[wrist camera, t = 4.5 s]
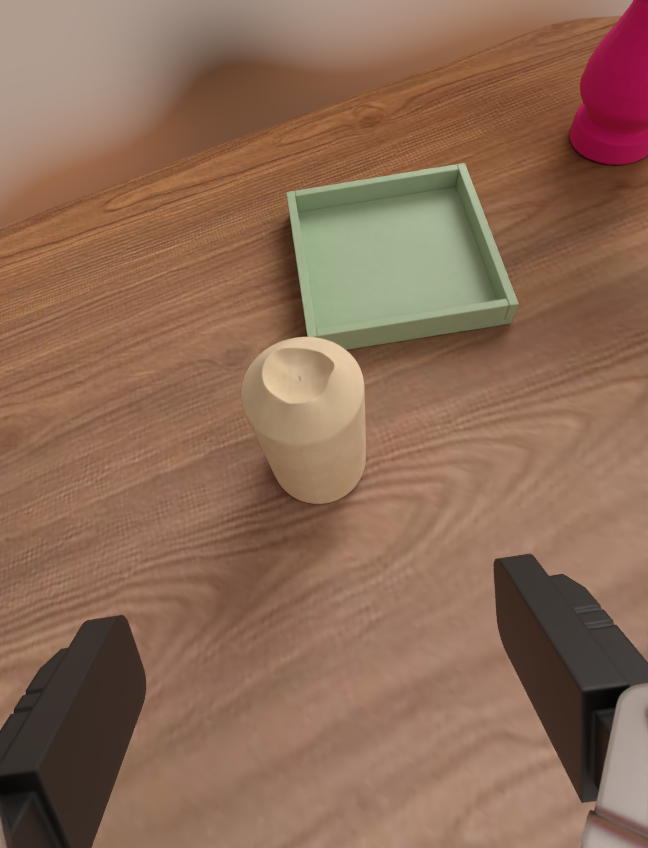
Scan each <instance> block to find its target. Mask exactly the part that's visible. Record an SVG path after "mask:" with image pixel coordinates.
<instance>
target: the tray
mask: <svg viewBox="0 0 648 848" xmlns="http://www.w3.org/2000/svg"><path fill="white" fill-rule="evenodd" d="M286 194H287V200H288V207H289V214H290V221H291V228H292V235H293V242H294V248H295V255H296V262H297V269H298V276H299V283H300V290H301V296H302V303H303V310H304V317H305V324H306V331H307V337H316V338H321V339H326V340H328V341H331V342H334V343H336V344H338V345H339V346H341V347H342V348H344V349H345V350H348V349H355V348H361V347H367V346H374V345H380V344H386V343H392V342H399V341H405V340H411V339H417V338H424V337H430V336H436V335H442V334H449V333H455V332H461V331H468V330H474V329H480V328H486V327H493V326H499V325H505V324H511V323H512V320H513V318H514V315H515V312H516V310H517V307H518V305H519V303H518V301H517V298H516V295H515V293H514V290H513V288H512V285H511V282H510V280H509V277H508V275H507V272H506V269H505V267H504V264H503V262H502V259H501V256H500V254H499V251H498V249H497V246H496V243H495V241H494V238H493V235H492V233H491V230H490V228H489V225H488V222H487V220H486V217H485V215H484V212H483V209H482V207H481V204H480V202H479V199H478V196H477V194H476V191H475V189H474V186H473V183H472V181H471V178H470V176H469V173H468V170H467V168H466V165H465V163H462V164H457V165H456V164H455V165H449V166H443V167H437V168H431V169H425V170H419V171H413V172H407V173H401V174H395V175H389V176H383V177H376V178H370V179H364V180H358V181H352V182H346V183H340V184H334V185H328V186H322V187H316V188H310V189H304V190H297V191H295V192H294V191H291V192H287V193H286Z"/></svg>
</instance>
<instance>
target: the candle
mask: <svg viewBox="0 0 648 848" xmlns="http://www.w3.org/2000/svg"><path fill="white" fill-rule="evenodd" d="M241 401H242V406H243V409H244V412H245V414H246V416H247V418H248V421H249V423H250V425H251V427H252V429H253V431H254V433H255V435H256V437H257V440H258V442H259V444H260V446H261V448H262V450H263V452H264V454H265V456H266V459H267V461H268V463H269V465H270V467H271V469H272V471H273V473H274V475H275V477H276V479H277V481H278V483H279V484H280V486H281V487H282V488H283V489H284V490H285V491H286V492H287V493H288V494H290V495H291V496H293V497H294V498H296V499H298V500H300V501H303V502H306V503H311V504H324V503H330V502H333V501H336V500H338V499H340V498H342V497H344V496H345V495H347V494H348V493H349V492H350V491H352V490H353V488H354V487H355V486H356V485H357V483H358V482H359V480H360V478H361V476H362V474H363V471H364V468H365V463H366V433H365V397H364V380H363V375H362V372H361V369H360V367H359V365H358V363H357V362H356V360H355V359H354V358H353V356H352V355H351V354H350V353H349V352H348V351H346V350H345V349H344V348H342V347H341V346H339V345H338V344H336V343H334V342H331V341H328V340H326V339H321V338H316V337H297V338H292V339H287V340H284V341H281V342H279V343H277V344H274V345H273V346H271V347H269V348H267V349H266V350H265V351H263V352H262V353H261V354H260V355H259V356H258V357H257V358H256V359H255V360H254V361H253V362H252V363H251V365H250V366H249V368H248V370H247V372H246V374H245V376H244V379H243V382H242V387H241Z"/></svg>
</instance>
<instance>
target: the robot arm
mask: <svg viewBox="0 0 648 848" xmlns="http://www.w3.org/2000/svg"><path fill="white" fill-rule="evenodd" d="M494 583H495V599H496V615H497V624H498V629H499V633H500V637H501V640H502V643H503V646H504V648H505V651H506V653H507V655H508V657H509V659H510V661H511V663H512V665H513V667H514V669H515V671H516V673H517V675H518V677H519V679H520V681H521V683H522V685H523V687H524V689H525V691H526V693H527V695H528V697H529V699H530V701H531V703H532V705H533V707H534V709H535V711H536V713H537V715H538V717H539V719H540V721H541V723H542V725H543V727H544V729H545V731H546V733H547V735H548V737H549V739H550V741H551V743H552V745H553V747H554V749H555V751H556V752H557V754H558V756H559V758H560V760H561V762H562V764H563V766H564V768H565V770H566V772H567V774H568V776H569V778H570V780H571V782H572V784H573V786H574V788H575V790H576V792H577V794H578V796H579V798H580V800H581V802H582V803H584V802H591V801H597V802H596V806H595V810H594V811H592V810H590V811H589V814H588V816H587V820H586V823H585V828H584V832H583V837H582V841H581V846H580V848H648V662H647V661H646V660H645V659H644V657H643V656H642V655H641V654H640V653H639V651H638V650H637V649H636V648H635V647H634V645H633V644H632V643H631V642H630V641H629V639H628V638H627V637H626V636H625V635H624V633H623V632H622V631H621V630H620V629H619V627H618V626H617V625H614V623H613V620H612V619H611V618H610V617H609V615H608V614H607V613H606V612H605V611H604V609H603V610H602V609H601V606H600V605H599V603H598V602H597V601H596V600H595V599H594V597H593V596H592V595H591V594H590V593H589V591H588V590H587V589H586V588H585V587H583V586H582V585H580V584H578V583H577V582H575V581H574V580H572V579H570V578H569V577H567V576H565V575H564V574H559V575H552V576H548V574H547V573H546V572H545V570H544V569H543V568H542V566H541V565H540V564H539V562H538V561H537V560H536V558H535V557H534V556H533V555H532V554H525V555H518V556H512V557H505V558H499V559H495V561H494ZM145 693H146V677H145V671H144V668H143V665H142V662H141V659H140V656H139V653H138V650H137V647H136V644H135V641H134V638H133V635H132V632H131V629H130V626H129V623H128V621H127V619H126V618H125V617H124V616H123V615H119V616H113V617H106V618H99V619H93V620H87V621H85V622H84V623H83V624H82V626H81V627H80V629H79V631H78V632H77V634H76V636H75V637H74V639H73V641H72V642H71V644H70V646H69V647H68V648H65V649H61V650H60V651H59V652H57V653H56V654H55V655H54V656H53V657H52V658H51V659H50V660H49V661H48V662H47V663H46V664H45V665H44V666H42V667H41V668H40V669H39V671H38V672H37V674H36V676H35V677H34V679H33V680H32V682H31V683H30V685H29V687H28V688H27V690H26V695H23V696H22V697H21V699H20V701H19V702H18V704H17V705H16V707H15V708H14V714H11V715H10V716H9V718H8V719H7V721H6V723H5V724H4V726H3V727H2V729H1V730H0V848H91V847H92V845H93V842H94V839H95V836H96V833H97V831H98V828H99V825H100V822H101V820H102V817H103V814H104V811H105V809H106V806H107V803H108V800H109V797H110V795H111V792H112V789H113V786H114V784H115V781H116V778H117V775H118V772H119V770H120V767H121V764H122V761H123V759H124V756H125V753H126V750H127V748H128V745H129V742H130V739H131V736H132V734H133V731H134V728H135V725H136V723H137V720H138V717H139V714H140V711H141V709H142V706H143V703H144V699H145Z"/></svg>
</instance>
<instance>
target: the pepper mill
mask: <svg viewBox="0 0 648 848" xmlns="http://www.w3.org/2000/svg"><path fill="white" fill-rule="evenodd" d="M580 92H581V97H582V100H583V103H582V104H581V105H580V107H579V108H578V110H577V112H576V115H575V118H574V121H573V124H572V126H571V129H570V140H571V143H572V145H573V147H574V148H575V149H576V150H577V151H578V152H579V153H580V154H581V155H583V156H584V157H586V158H588V159H590V160H593V161H596V162H598V163H603V164H609V165H624V164H629V163H633V162H636V161H638V160H640V159H643V158H644V157H646V156H647V155H648V0H633V2H632V4H631V5H630V7H629V8H628V9H627V11H626V12H625V13H624V14H623V16H622V17H621V18H620V20H619V21H618V22H617V23H616V24H615V25H614V27H613V28H612V29H611V30H610V31H609V32H608V34H607V35H606V36H605V37H604V38H603V39H602V41H601V42H600V43H599V45H598V46H597V48H596V49H595V51H594V52H593V54H592V55H591V57H590V59H589V61H588V64H587V66H586V68H585V70H584V73H583V75H582V77H581V83H580Z"/></svg>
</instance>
